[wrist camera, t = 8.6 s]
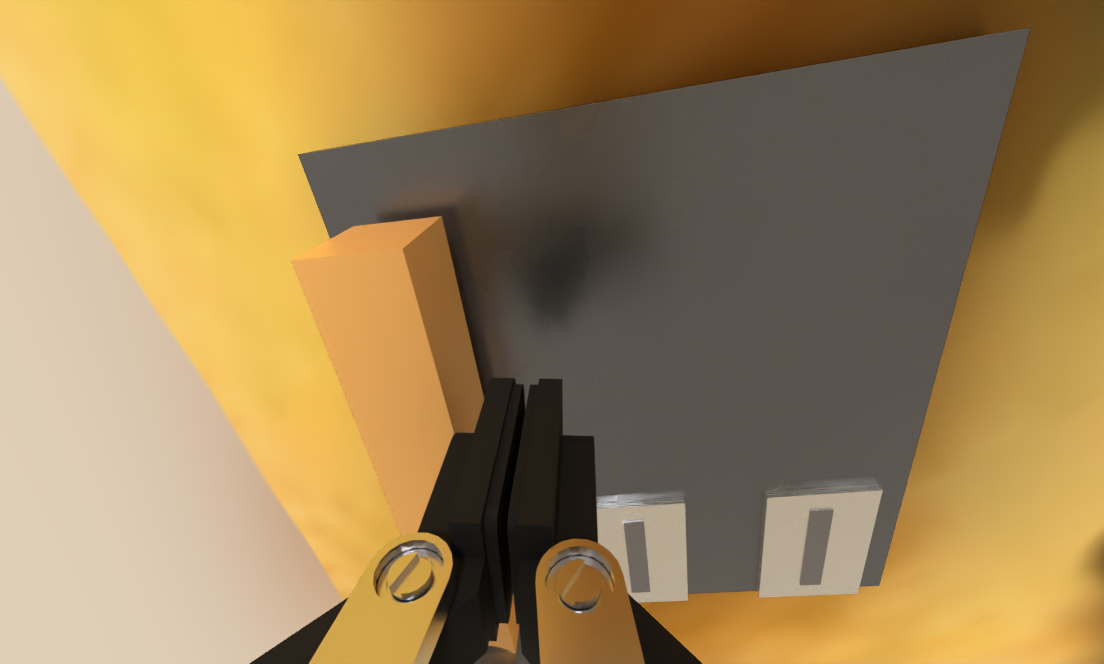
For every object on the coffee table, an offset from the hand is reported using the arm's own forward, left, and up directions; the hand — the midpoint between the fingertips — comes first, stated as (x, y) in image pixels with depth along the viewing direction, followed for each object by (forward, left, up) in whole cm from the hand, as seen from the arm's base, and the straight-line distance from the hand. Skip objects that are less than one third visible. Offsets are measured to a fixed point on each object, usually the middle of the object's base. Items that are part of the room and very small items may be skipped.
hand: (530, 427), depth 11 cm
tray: (+3, +3, -5) cm, 7 cm away
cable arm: (+4, -3, -3) cm, 6 cm away
